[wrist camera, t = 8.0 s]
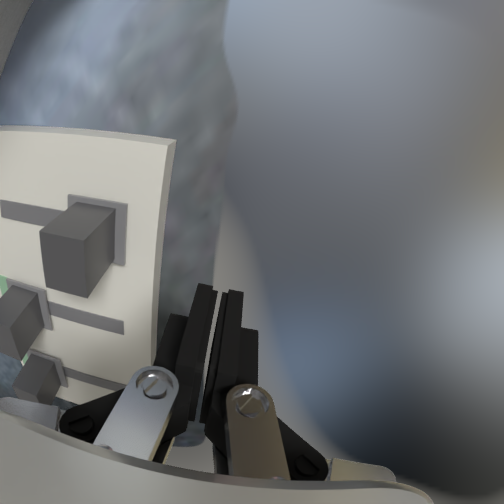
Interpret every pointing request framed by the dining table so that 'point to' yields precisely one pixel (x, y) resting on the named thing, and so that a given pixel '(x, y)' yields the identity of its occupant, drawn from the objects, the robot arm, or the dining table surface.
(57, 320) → the panel
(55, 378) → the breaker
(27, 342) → the block
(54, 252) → the block
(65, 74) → the dining table surface
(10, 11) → the white printed box
